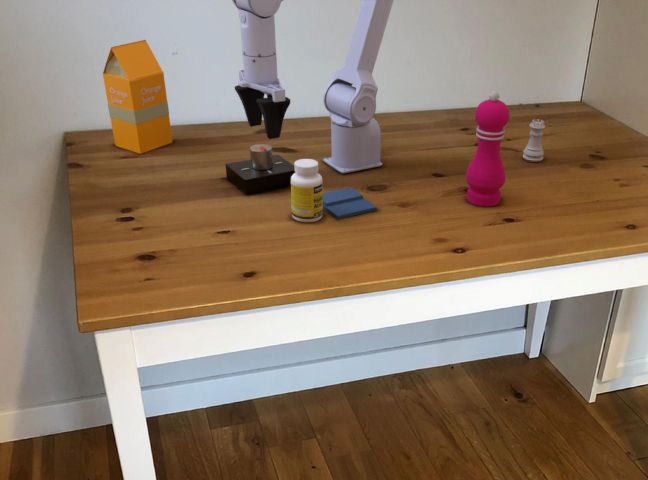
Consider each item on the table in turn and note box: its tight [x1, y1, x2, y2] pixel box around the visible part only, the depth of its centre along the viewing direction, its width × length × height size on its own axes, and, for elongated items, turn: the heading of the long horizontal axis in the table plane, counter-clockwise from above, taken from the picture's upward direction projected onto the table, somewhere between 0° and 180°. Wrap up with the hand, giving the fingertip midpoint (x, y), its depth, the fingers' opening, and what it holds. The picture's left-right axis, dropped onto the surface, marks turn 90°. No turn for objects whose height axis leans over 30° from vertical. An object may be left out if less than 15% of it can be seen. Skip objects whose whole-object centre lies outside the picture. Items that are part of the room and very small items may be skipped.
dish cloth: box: [323, 186, 377, 220], centre depth 138 cm, size 8×9×1 cm
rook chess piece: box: [522, 119, 546, 163], centre depth 159 cm, size 4×4×8 cm
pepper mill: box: [465, 90, 510, 207], centre depth 137 cm, size 7×7×20 cm
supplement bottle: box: [290, 158, 324, 223], centre depth 131 cm, size 5×5×10 cm
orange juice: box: [102, 39, 173, 155], centre depth 154 cm, size 8×9×20 cm
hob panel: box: [225, 154, 296, 196], centre depth 145 cm, size 11×9×3 cm
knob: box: [249, 143, 273, 170], centre depth 143 cm, size 4×4×4 cm
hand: (264, 131), depth 139 cm, fingers open, 7 cm apart
